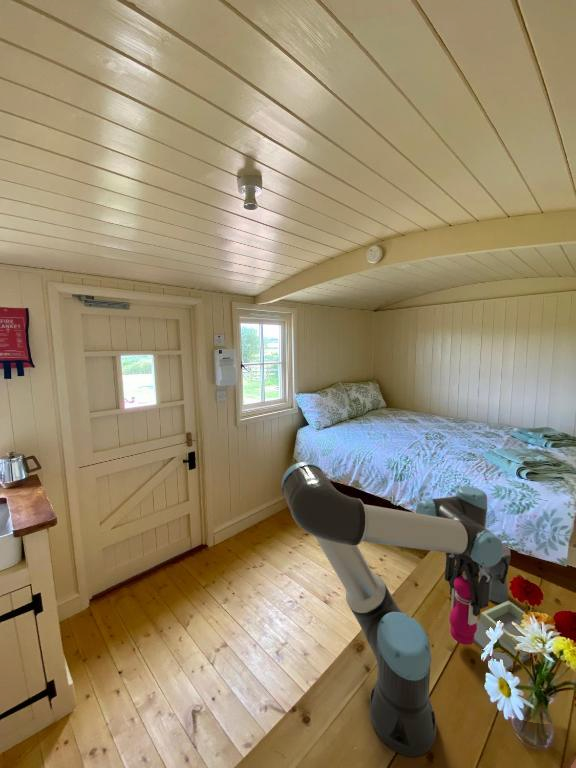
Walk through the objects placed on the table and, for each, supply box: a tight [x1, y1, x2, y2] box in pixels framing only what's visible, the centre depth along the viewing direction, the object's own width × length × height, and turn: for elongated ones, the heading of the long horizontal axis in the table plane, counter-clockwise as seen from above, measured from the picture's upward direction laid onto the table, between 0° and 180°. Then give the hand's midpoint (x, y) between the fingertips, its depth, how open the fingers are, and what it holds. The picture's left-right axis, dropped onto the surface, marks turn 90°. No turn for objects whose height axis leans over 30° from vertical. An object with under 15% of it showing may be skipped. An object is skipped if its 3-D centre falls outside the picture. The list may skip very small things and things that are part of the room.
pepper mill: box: [448, 572, 477, 646], centre depth 95 cm, size 7×7×20 cm
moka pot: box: [482, 545, 512, 604], centre depth 115 cm, size 10×15×20 cm, turn 174°
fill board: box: [473, 599, 530, 671], centre depth 99 cm, size 20×14×4 cm
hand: (463, 614), depth 96 cm, fingers closed on pepper mill, 5 cm apart
